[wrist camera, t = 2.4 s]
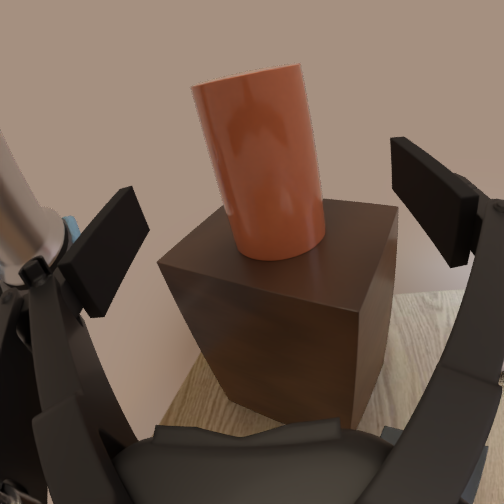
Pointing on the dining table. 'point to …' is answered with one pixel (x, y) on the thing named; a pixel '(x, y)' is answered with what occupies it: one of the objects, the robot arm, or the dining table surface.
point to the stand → (292, 313)
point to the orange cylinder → (264, 159)
